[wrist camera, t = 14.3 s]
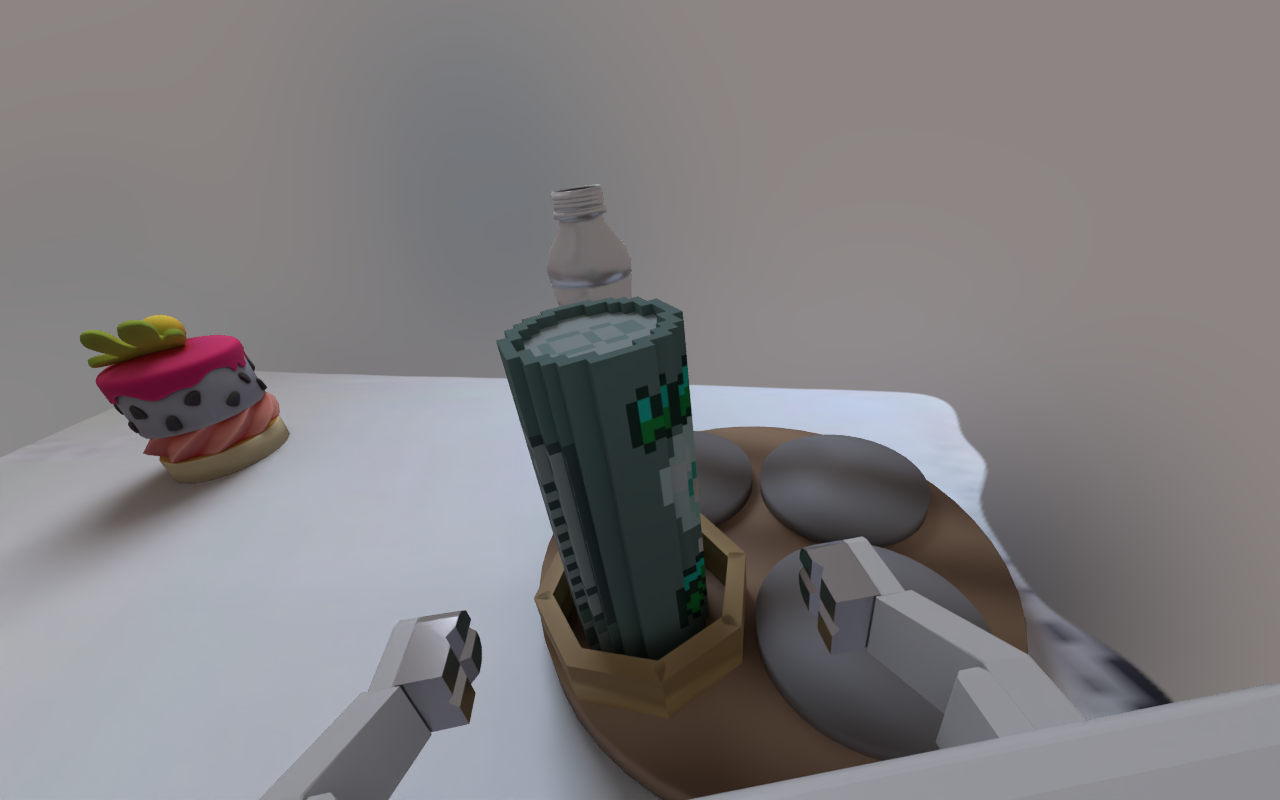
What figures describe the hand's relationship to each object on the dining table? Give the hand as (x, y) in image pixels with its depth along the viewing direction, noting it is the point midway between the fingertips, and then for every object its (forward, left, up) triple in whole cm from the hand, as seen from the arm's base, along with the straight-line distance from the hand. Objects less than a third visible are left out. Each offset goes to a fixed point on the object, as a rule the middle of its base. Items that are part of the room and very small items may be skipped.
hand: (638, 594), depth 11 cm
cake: (+20, +50, -13) cm, 55 cm away
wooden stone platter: (+12, -2, -13) cm, 18 cm away
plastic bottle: (+27, +10, -13) cm, 31 cm away
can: (+7, +3, -11) cm, 13 cm away
